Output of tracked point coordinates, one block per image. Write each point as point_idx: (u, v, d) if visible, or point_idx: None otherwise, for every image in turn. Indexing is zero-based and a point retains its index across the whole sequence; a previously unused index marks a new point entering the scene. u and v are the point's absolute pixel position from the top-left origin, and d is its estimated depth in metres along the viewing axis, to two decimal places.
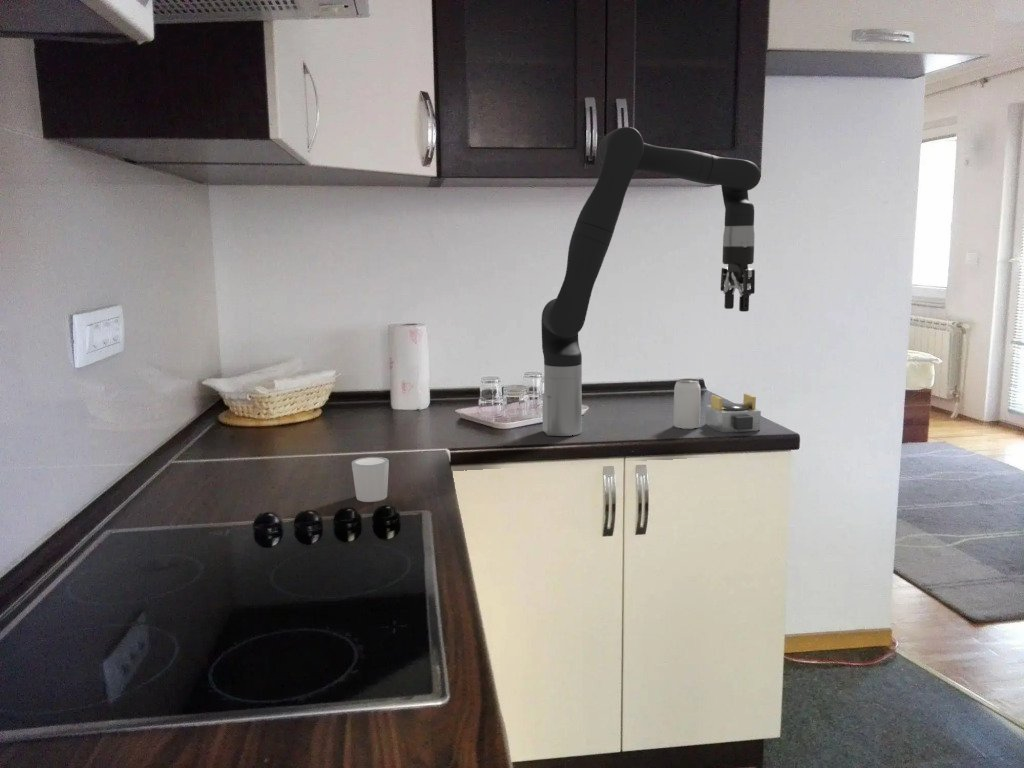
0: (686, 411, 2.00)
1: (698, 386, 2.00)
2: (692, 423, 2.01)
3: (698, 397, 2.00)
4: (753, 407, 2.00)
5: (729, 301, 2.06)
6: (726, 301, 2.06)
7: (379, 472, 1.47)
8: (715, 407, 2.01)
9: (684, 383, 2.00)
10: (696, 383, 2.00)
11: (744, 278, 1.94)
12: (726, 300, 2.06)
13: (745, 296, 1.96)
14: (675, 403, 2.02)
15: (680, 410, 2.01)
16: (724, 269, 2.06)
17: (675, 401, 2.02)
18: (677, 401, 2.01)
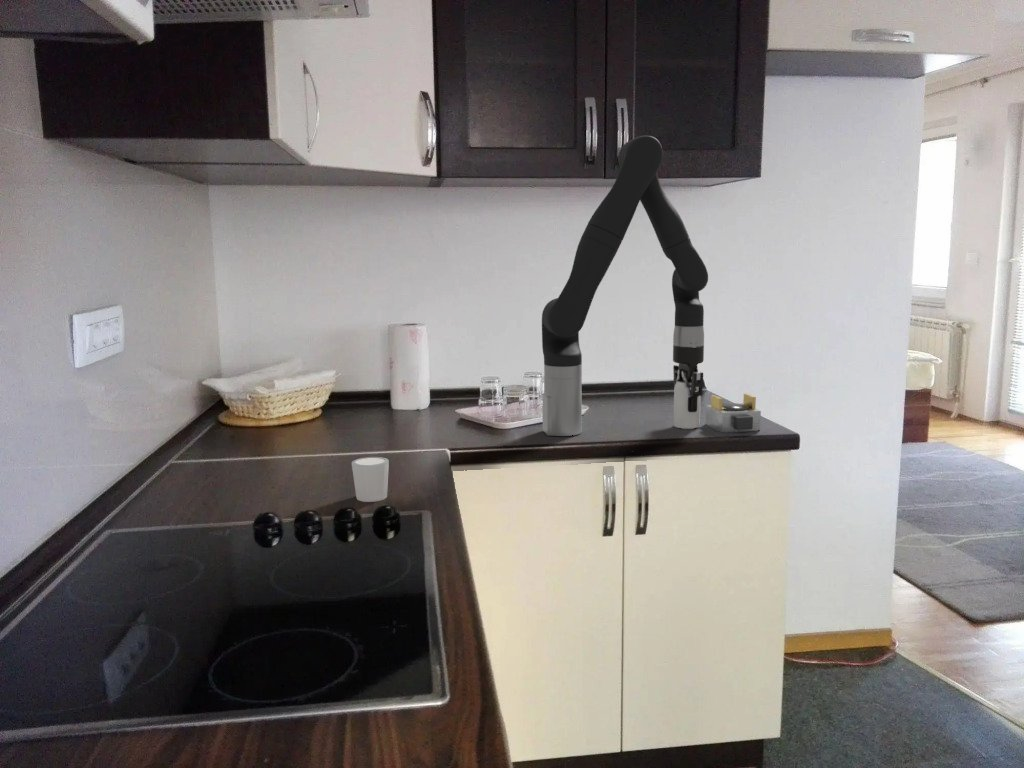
0: (686, 411, 2.00)
1: None
2: (692, 423, 2.01)
3: (698, 397, 2.00)
4: (753, 407, 2.00)
5: None
6: None
7: (379, 472, 1.47)
8: (715, 407, 2.01)
9: None
10: None
11: (692, 381, 1.96)
12: None
13: (693, 397, 1.98)
14: (675, 403, 2.02)
15: (680, 410, 2.01)
16: (676, 366, 2.07)
17: (675, 401, 2.02)
18: (677, 401, 2.01)
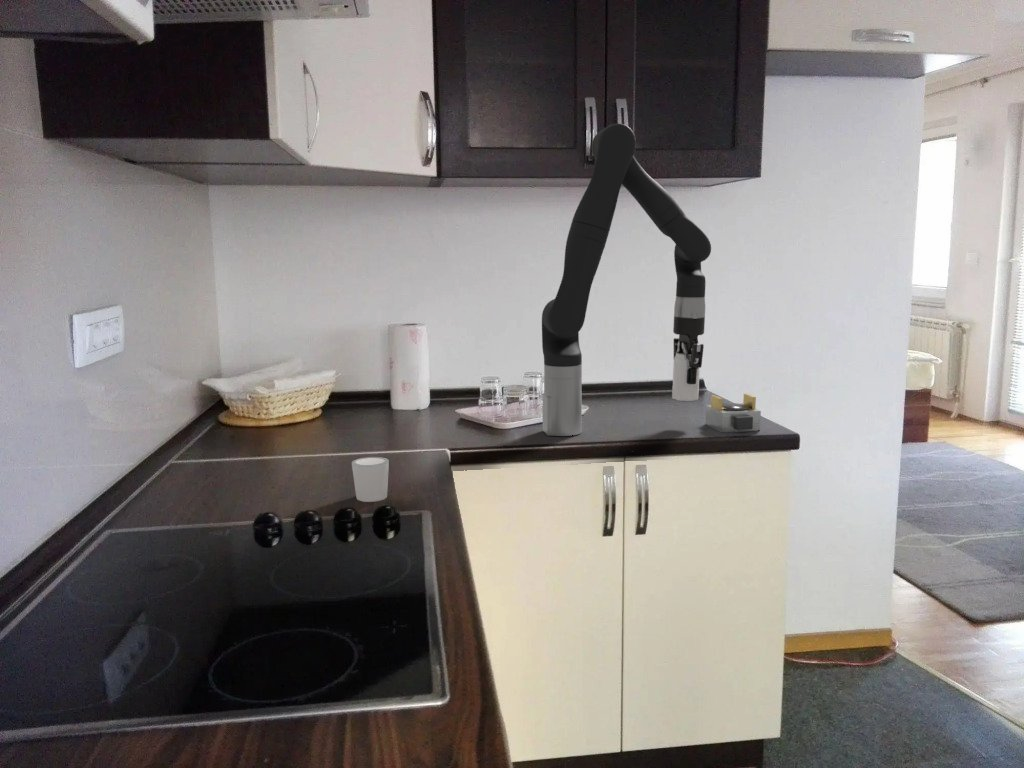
0: (685, 383, 1.99)
1: None
2: (691, 395, 2.00)
3: (697, 369, 1.99)
4: (753, 407, 2.00)
5: None
6: None
7: (379, 472, 1.47)
8: (715, 407, 2.01)
9: None
10: None
11: (692, 353, 1.94)
12: None
13: (692, 369, 1.97)
14: (674, 375, 2.01)
15: (678, 382, 2.00)
16: (676, 339, 2.06)
17: (674, 373, 2.01)
18: (676, 373, 2.00)
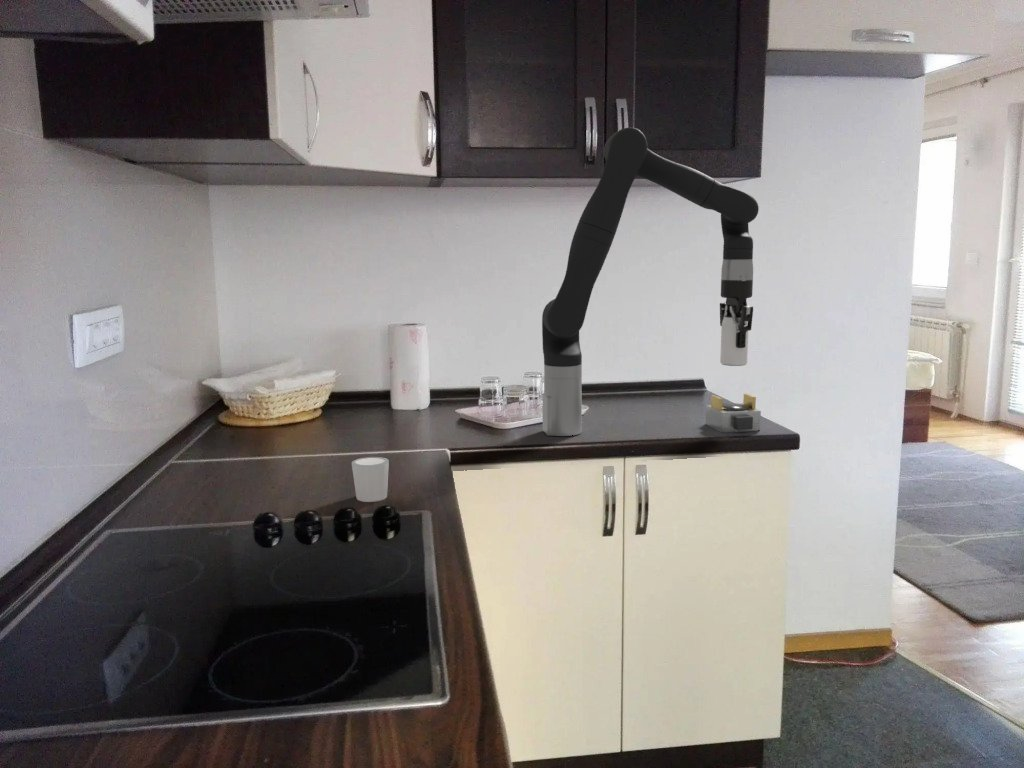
0: (734, 347, 1.97)
1: None
2: (740, 359, 1.97)
3: (746, 333, 1.97)
4: (753, 407, 2.00)
5: None
6: None
7: (379, 472, 1.47)
8: (715, 407, 2.01)
9: None
10: None
11: (742, 316, 1.92)
12: None
13: (742, 333, 1.94)
14: (722, 339, 1.99)
15: (727, 346, 1.97)
16: (722, 304, 2.03)
17: (722, 337, 1.98)
18: (725, 337, 1.97)
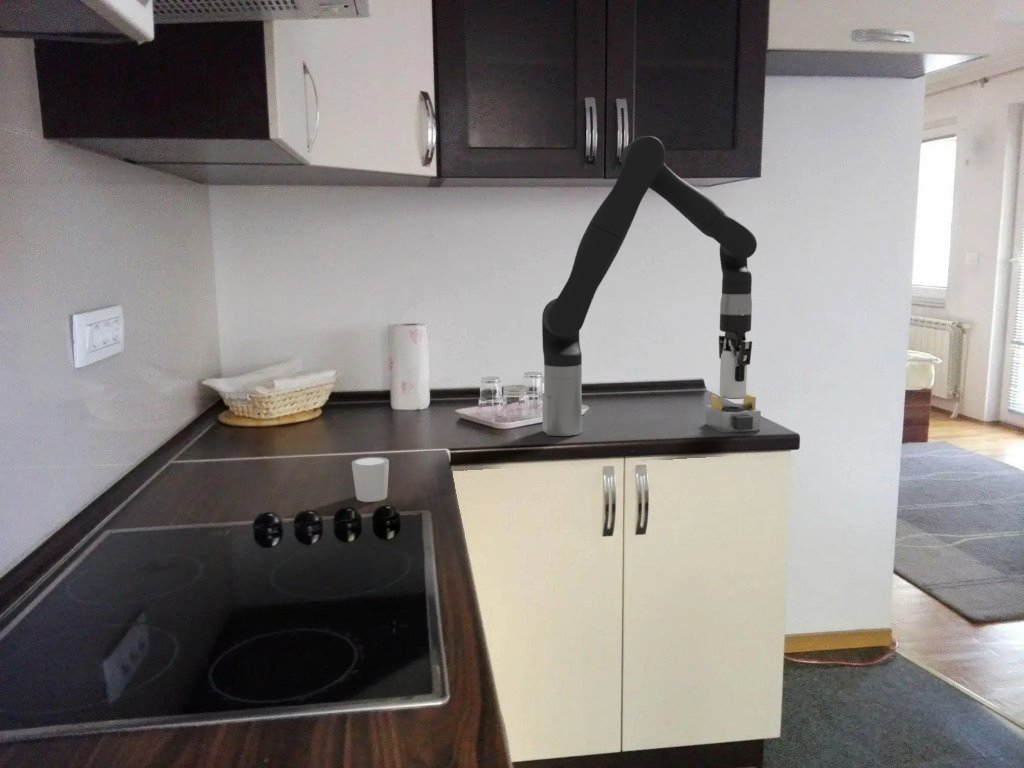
0: (733, 380, 1.98)
1: None
2: (739, 392, 1.98)
3: (745, 366, 1.98)
4: (753, 407, 2.00)
5: None
6: None
7: (379, 472, 1.47)
8: (715, 407, 2.01)
9: None
10: None
11: (741, 350, 1.93)
12: None
13: (741, 367, 1.96)
14: (721, 372, 2.00)
15: (726, 379, 1.99)
16: (721, 336, 2.05)
17: (722, 370, 2.00)
18: (724, 370, 1.99)
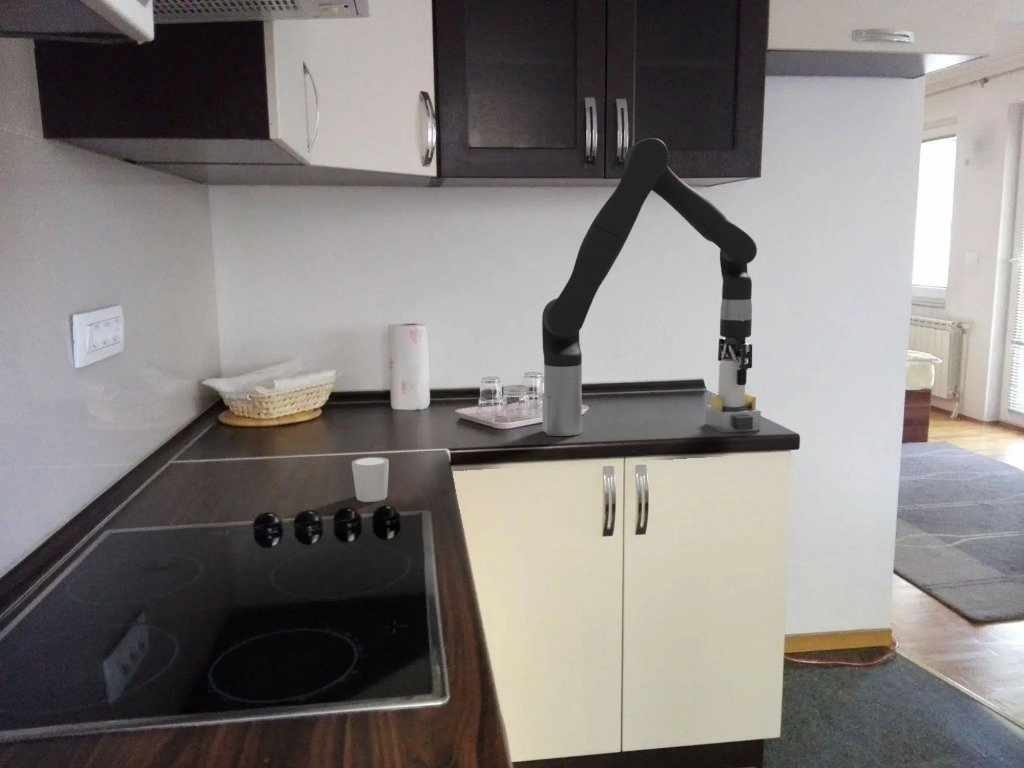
0: (731, 389, 1.99)
1: None
2: (738, 401, 1.99)
3: None
4: (753, 407, 2.00)
5: None
6: None
7: (379, 472, 1.47)
8: (715, 407, 2.01)
9: (730, 361, 1.98)
10: None
11: (742, 353, 1.93)
12: None
13: (742, 370, 1.95)
14: (720, 381, 2.01)
15: (725, 388, 1.99)
16: (721, 339, 2.05)
17: (720, 380, 2.01)
18: (723, 379, 2.00)
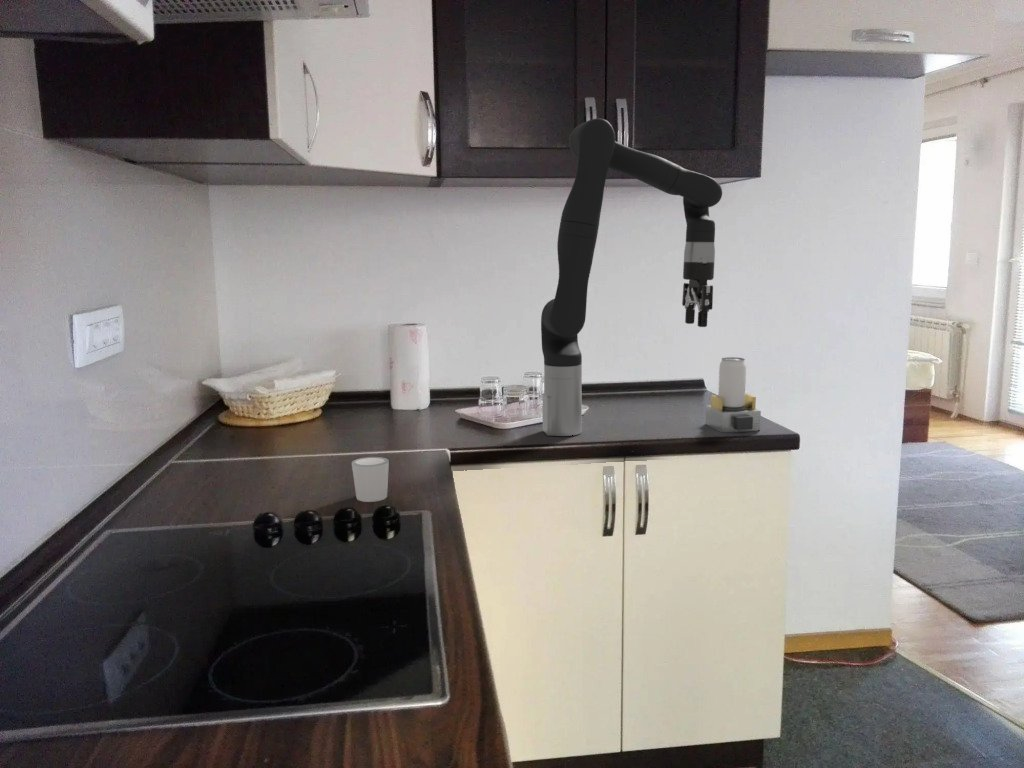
0: (731, 389, 1.99)
1: (744, 364, 1.99)
2: (738, 401, 1.99)
3: (744, 375, 1.99)
4: (753, 407, 2.00)
5: (690, 316, 2.07)
6: (687, 316, 2.07)
7: (379, 472, 1.47)
8: (715, 407, 2.01)
9: (730, 361, 1.98)
10: (742, 361, 1.98)
11: (702, 294, 1.96)
12: (687, 315, 2.07)
13: (703, 312, 1.98)
14: (720, 381, 2.01)
15: (725, 388, 1.99)
16: (686, 284, 2.07)
17: (720, 379, 2.01)
18: (723, 379, 2.00)
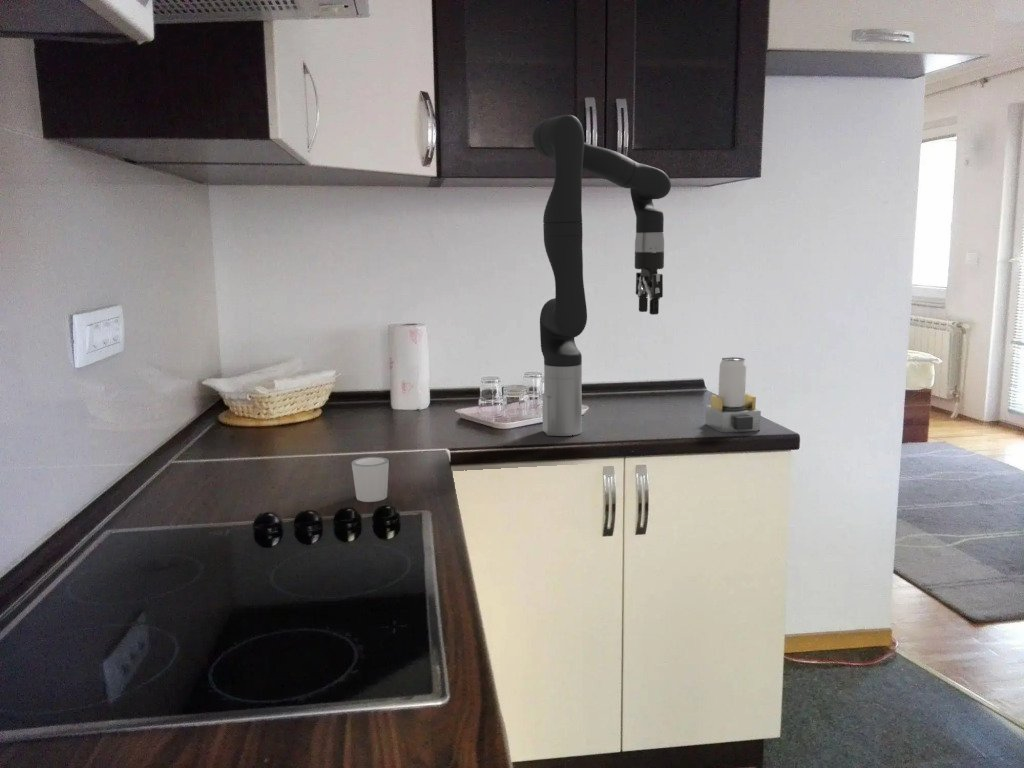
0: (732, 389, 1.99)
1: (744, 364, 1.99)
2: (738, 401, 1.99)
3: (744, 375, 1.99)
4: (753, 407, 2.00)
5: (643, 304, 2.14)
6: (640, 304, 2.14)
7: (379, 472, 1.47)
8: (715, 407, 2.01)
9: (730, 361, 1.98)
10: (742, 361, 1.99)
11: (652, 283, 2.03)
12: (640, 303, 2.14)
13: (654, 300, 2.05)
14: (720, 381, 2.01)
15: (725, 388, 1.99)
16: (638, 274, 2.15)
17: (720, 379, 2.01)
18: (723, 379, 2.00)
